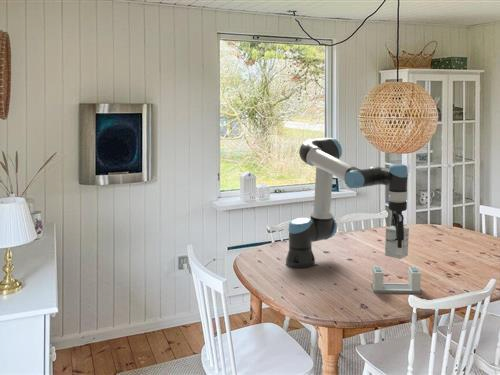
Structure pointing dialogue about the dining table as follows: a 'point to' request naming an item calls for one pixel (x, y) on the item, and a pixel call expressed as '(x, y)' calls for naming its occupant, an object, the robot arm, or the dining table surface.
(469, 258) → the dining table surface
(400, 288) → the grey holder stand
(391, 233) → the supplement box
